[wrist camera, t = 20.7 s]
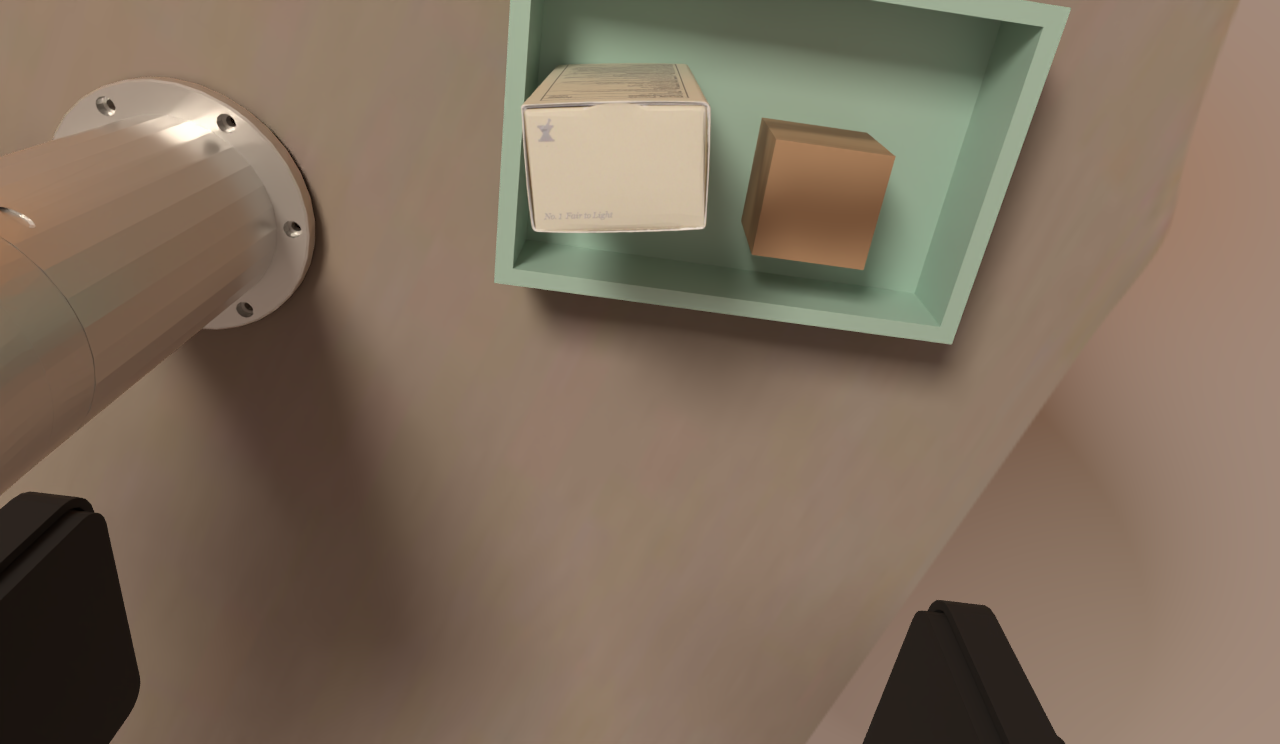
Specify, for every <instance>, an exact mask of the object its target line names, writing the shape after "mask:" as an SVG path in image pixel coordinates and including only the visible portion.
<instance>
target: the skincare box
mask: <svg viewBox="0 0 1280 744" xmlns="http://www.w3.org/2000/svg"><path fill="white" fill-rule="evenodd" d="M521 114H522V133H523V147H524V160H525V173H526V185H527V195H528V203H529V212H530V219H531V226H532V229H533V230H534V231H535V232H550V233H617V232H658V231H685V230H700V229H704V228H705V227H706V219H707V201H708V185H709V164H710V132H711V107H710V105H709V103H708V102H707V100H706V98H705V96H704V94H703V92H702V91H701V88H700V87H699V85H698V83H697V81H696V79H695V77H694V75H693V74H692V72H691V70H690V68H689V66H688V65H686V64H668V63H601V64H568V65H558V66H556V67H555V69H554V70H553V71H552V72H551V73H550V74H549V76H547V78H546V79H545V80H544V81H543V82H542V83H541V85H540V86H539V87H538V88H537V89H536V90H535V91H534V92H533V93H532V95H531V96H530V97H529V98H528V99H527V100H526V101H525V102H524V103H523V105H522V106H521Z"/></svg>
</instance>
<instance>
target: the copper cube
mask: <svg viewBox="0 0 1280 744" xmlns="http://www.w3.org/2000/svg"><path fill="white" fill-rule="evenodd" d="M895 157H896V156H895V155H893V154H892V153H891V152H890V151H888V150H887V149H886V148H885V147H884V146H882V145H881V144H880V143H879V142H878V141H876V140H875V139H874V138H873V137H872V136H870V135H869V134H868V133H866V132H859V131H852V130H845V129H838V128H831V127H825V126H818V125H811V124H804V123H797V122H790V121H783V120H776V119H770V118H763V117H762V119H761V124H760V129H759V134H758V139H757V144H756V149H755V154H754V159H753V164H752V169H751V174H750V179H749V184H748V189H747V194H746V199H745V204H744V209H743V214H742V219H741V223H742V226H743V229H744V232H745V235H746V238H747V241H748V244H749V247H750V251H751V254H752V255H757V256H764V257H771V258H779V259H786V260H793V261H801V262H808V263H815V264H823V265H830V266H837V267H844V268H852V269H859V270H864V267H865V263H866V260H867V256H868V252H869V249H870V245H871V242H872V238H873V235H874V231H875V228H876V224H877V221H878V217H879V214H880V210H881V206H882V203H883V199H884V196H885V192H886V189H887V185H888V182H889V178H890V175H891V171H892V167H893V164H894V160H895Z"/></svg>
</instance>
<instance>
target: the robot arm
mask: <svg viewBox="0 0 1280 744" xmlns="http://www.w3.org/2000/svg"><path fill="white" fill-rule="evenodd" d="M113 103H114V104H113ZM114 105H115V106H114ZM231 117H232V118H233V119H234V121H235V124H236V125H234V124H233V123H232V122H231V119H230V118H231ZM295 222H296V223H297V224H298V225H299V226H300V228H301V229H300V228H298V227H297V226H296V225H295ZM314 246H315V218H314V213H313V208H312V203H311V198H310V195H309V192H308V190H307V187H306V185H305V182H304V180H303V177H302V175H301V173H300V171H299V169H298V168H297V166H296V164H295V163H294V161H293V159H292V158H291V156H290V154H289V153H288V151H287V150H286V148H285V147H284V146H283V145H282V144H281V142H280V141H279V140H278V139H277V138H276V136H275V135H274V134H273V133H272V132H271V130H270V129H269V128H268V127H266V126H265V125H264V124H263V123H262V122H261V121H260V120H259V119H257V118H256V117H255V116H254V115H253V114H252V113H251V112H249V111H248V110H247V109H245V108H244V107H242V106H240V105H239V104H237V103H236V102H234V101H233V100H231V99H230V98H228V97H226V96H225V95H223V94H220V93H218V92H216V91H214V90H211V89H209V88H207V87H204V86H202V85H200V84H196V83H192V82H188V81H184V80H180V79H176V78H168V77H147V76H146V77H140V78H134V79H128V80H122V81H119V82H115V83H112V84H109V85H105V86H102V87H99V88H98V89H96V90H94V91H92V92H91V93H89V94H87V95H85V96H84V97H82V98H81V99H80V100H79V101H78V102H77V103H76V104H75V105H74V106H73V107H72V108H71V109H69V110H68V111H67V112H66V113H65V115H64V117H63V118H62V120H61V122H60V124H59V125H58V127H57V129H56V131H55V132H54V135H53V139H52V141H49V142H46V143H42V144H39V145H36V146H32V147H29V148H26V149H22V150H19V151H16V152H13V153H9V154H6V155H3V156H0V496H1V495H2V494H3V493H4V492H5V491H6V490H7V489H9V488H10V487H11V486H12V485H13V484H14V483H16V482H17V481H18V480H19V479H20V478H21V477H22V476H24V475H25V474H26V473H27V472H28V471H30V470H31V469H32V468H33V467H34V466H35V465H37V464H38V463H39V462H40V461H41V460H43V459H44V458H45V457H46V456H48V455H49V454H50V453H51V452H52V451H54V450H55V449H56V448H57V447H58V446H60V445H61V444H62V443H63V442H65V441H66V440H67V439H68V438H69V437H70V436H72V435H73V434H74V433H75V432H77V431H78V430H79V429H80V428H81V427H83V426H84V425H85V424H86V423H87V422H89V421H90V420H91V419H92V418H94V417H95V416H96V415H97V414H98V413H100V412H101V411H102V410H103V409H105V408H106V407H107V406H108V405H109V404H111V403H112V402H113V401H114V400H116V399H117V398H118V397H119V396H120V395H122V394H123V393H124V392H125V391H127V390H128V389H129V388H130V387H131V386H133V385H134V384H135V383H136V382H138V381H139V380H140V379H141V378H142V377H144V376H145V375H146V374H147V373H149V372H150V371H151V370H152V369H153V368H155V367H156V366H157V365H158V364H160V363H161V362H162V361H163V360H164V359H166V358H167V357H168V356H169V355H171V354H172V353H173V352H174V351H175V350H177V349H178V348H179V347H180V346H182V345H183V344H184V343H185V342H186V341H188V340H189V339H190V338H191V337H193V336H194V335H195V334H196V333H197V332H199V331H200V330H201V329H215V330H220V329H227V328H234V327H241V326H243V325H246V324H249V323H252V322H255V321H258V320H260V319H262V318H263V317H265V316H267V315H268V314H270V313H272V312H273V311H275V310H276V309H278V308H279V307H280V306H281V305H282V304H283V303H284V302H285V301H286V300H288V299H289V298H290V297H291V295H292V294H293V293H294V292H295V290H296V289H297V288H298V287H299V285H300V284H301V283H302V281H303V279H304V277H305V275H306V273H307V271H308V268H309V266H310V264H311V260H312V255H313V250H314ZM249 304H250V305H251V306H250V305H249ZM139 689H140V676H139V671H138V666H137V662H136V657H135V653H134V648H133V643H132V639H131V634H130V630H129V625H128V620H127V616H126V611H125V607H124V602H123V597H122V593H121V588H120V584H119V579H118V574H117V570H116V565H115V561H114V556H113V551H112V547H111V542H110V538H109V533H108V528H107V524H106V521H105V519H104V517H103V516H102V515H101V514H99V513H94V510H93V508H92V505H91V504H90V503H89V502H88V501H87V500H86V499H83V498H79V497H71V496H63V495H54V494H46V493H38V492H26V493H21V494H20V495H18V496H17V497H15V498H13V499H12V500H11V501H9V502H8V503H7V504H6V505H5V506H4V507H2V508H1V509H0V744H109V743H110V741H111V740H112V739H113V737H114V736H115V734H116V733H117V731H118V730H119V729H120V727H121V726H122V724H123V723H124V721H125V720H126V718H127V717H128V716H129V714H130V712H131V711H132V709H133V707H134V705H135V703H136V700H137V697H138V694H139ZM863 744H1065V743H1064V741H1063V740H1062V739H1061V738H1060V737H1058V736H1057V735H1056V733H1055V731H1054V729H1053V727H1052V726H1051V723H1050V721H1049V720H1048V718H1047V716H1046V714H1045V712H1044V710H1043V708H1042V706H1041V704H1040V702H1039V700H1038V698H1037V696H1036V694H1035V692H1034V690H1033V688H1032V687H1031V685H1030V683H1029V681H1028V679H1027V677H1026V675H1025V673H1024V671H1023V669H1022V667H1021V665H1020V664H1019V661H1018V659H1017V658H1016V655H1015V654H1014V652H1013V650H1012V648H1011V646H1010V644H1009V642H1008V640H1007V638H1006V636H1005V634H1004V632H1003V630H1002V628H1001V626H1000V624H999V623H998V620H997V619H996V617H995V615H994V614H993V612H992V611H991V609H990V608H988V607H986V606H985V605H977V604H968V603H960V602H951V601H943V600H936V601H935V602H933V603H932V604H931V606H930V607H929V609H928V611H918V612H917V613H916V614H915V616H914V618H913V620H912V622H911V625H910V627H909V630H908V632H907V635H906V637H905V640H904V642H903V645H902V647H901V649H900V652H899V655H898V657H897V660H896V662H895V664H894V667H893V669H892V672H891V675H890V677H889V680H888V682H887V685H886V687H885V689H884V692H883V694H882V697H881V700H880V702H879V705H878V707H877V709H876V712H875V714H874V717H873V719H872V722H871V724H870V727H869V729H868V732H867V734H866V737H865V739H864V742H863Z"/></svg>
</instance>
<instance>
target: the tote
mask: <svg viewBox="0 0 1280 744" xmlns="http://www.w3.org/2000/svg"><path fill="white" fill-rule="evenodd" d="M1070 10H1071V8H1069V7H1062V6H1056V5H1050V4H1043V3H1037V2H1031V1H1024V0H510V14H509V32H508V49H507V67H506V85H505V102H504V120H503V137H502V155H501V173H500V190H499V208H498V226H497V243H496V261H495V278H494V283H500V284H507V285H515V286H522V287H530V288H537V289H544V290H552V291H559V292H567V293H574V294H581V295H589V296H596V297H604V298H611V299H618V300H626V301H633V302H641V303H648V304H655V305H663V306H670V307H678V308H685V309H692V310H700V311H707V312H715V313H722V314H729V315H737V316H744V317H752V318H759V319H766V320H774V321H781V322H789V323H796V324H803V325H811V326H818V327H826V328H833V329H840V330H848V331H855V332H863V333H870V334H877V335H885V336H892V337H900V338H907V339H914V340H922V341H929V342H937V343H944V344H951V345H952V342H953V339H954V337H955V334H956V331H957V328H958V325H959V323H960V320H961V317H962V314H963V311H964V308H965V306H966V303H967V300H968V297H969V294H970V292H971V289H972V286H973V283H974V280H975V278H976V275H977V272H978V269H979V266H980V263H981V261H982V258H983V255H984V252H985V249H986V247H987V244H988V241H989V238H990V235H991V233H992V230H993V227H994V224H995V221H996V218H997V216H998V213H999V210H1000V207H1001V204H1002V202H1003V199H1004V196H1005V193H1006V190H1007V187H1008V185H1009V182H1010V179H1011V176H1012V173H1013V171H1014V168H1015V165H1016V162H1017V159H1018V157H1019V154H1020V151H1021V148H1022V145H1023V142H1024V140H1025V137H1026V134H1027V131H1028V128H1029V126H1030V123H1031V120H1032V117H1033V114H1034V112H1035V109H1036V106H1037V103H1038V100H1039V97H1040V95H1041V92H1042V89H1043V86H1044V83H1045V81H1046V78H1047V75H1048V72H1049V69H1050V66H1051V64H1052V61H1053V58H1054V55H1055V52H1056V50H1057V47H1058V44H1059V41H1060V38H1061V36H1062V33H1063V30H1064V27H1065V24H1066V21H1067V19H1068V16H1069V13H1070ZM601 63H668V64H686V65H688V66H689V68H690V70H691V72H692V74H693V75H694V77H695V79H696V81H697V83H698V85H699V87H700V88H701V91H702V92H703V94H704V96H705V98H706V100H707V102H708V103H709V105H710V107H711V132H710V164H709V185H708V201H707V219H706V227H705V228H704V229H700V230H685V231H658V232H617V233H550V232H535V231H534V230H533V229H532V226H531V219H530V212H529V203H528V195H527V185H526V173H525V160H524V147H523V133H522V114H521V106H522V105H523V103H524V102H525V101H526V100H527V99H528V98H529V97H530V96H531V95H532V93H533V92H534V91H535V90H536V89H537V88H538V87H539V86H540V85H541V83H542V82H543V81H544V80H545V79H546V78H547V76H549V74H550V73H551V72H552V71H553V70H554V69H555V67H556V66H558V65H568V64H601ZM762 117H763V118H770V119H776V120H783V121H790V122H797V123H804V124H811V125H818V126H825V127H831V128H838V129H845V130H852V131H859V132H866V133H868V134H869V135H870V136H872V137H873V138H874V139H875V140H876V141H878V142H879V143H880V144H881V145H882V146H884V147H885V148H886V149H887V150H888V151H890V152H891V153H892V154H893V155H895V156H896V157H895V160H894V164H893V167H892V171H891V175H890V178H889V182H888V185H887V189H886V192H885V196H884V199H883V203H882V206H881V210H880V214H879V217H878V221H877V224H876V228H875V231H874V235H873V238H872V242H871V245H870V249H869V252H868V256H867V260H866V263H865V267H864V270H859V269H852V268H844V267H837V266H830V265H823V264H815V263H808V262H801V261H793V260H786V259H779V258H771V257H764V256H757V255H752V254H751V251H750V247H749V244H748V241H747V238H746V235H745V232H744V229H743V226H742V223H741V219H742V214H743V209H744V204H745V199H746V194H747V189H748V184H749V179H750V174H751V169H752V164H753V159H754V154H755V149H756V144H757V139H758V134H759V129H760V124H761V119H762Z"/></svg>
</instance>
